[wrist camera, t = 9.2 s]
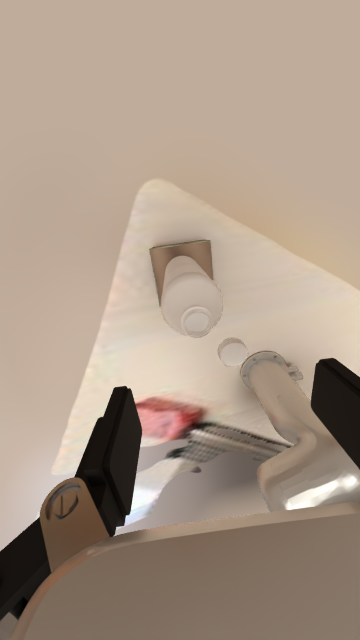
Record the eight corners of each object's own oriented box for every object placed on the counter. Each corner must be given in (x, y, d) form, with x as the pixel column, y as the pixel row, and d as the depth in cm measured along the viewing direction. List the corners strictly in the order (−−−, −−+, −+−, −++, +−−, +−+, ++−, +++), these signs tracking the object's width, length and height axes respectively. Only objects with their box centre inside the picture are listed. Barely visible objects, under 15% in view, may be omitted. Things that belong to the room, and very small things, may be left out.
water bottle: (158, 274, 40) (140, 330, 17) (180, 247, 38) (196, 267, 15) (192, 303, 42) (217, 386, 19) (214, 278, 41) (272, 337, 17)
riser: (203, 239, 45) (210, 240, 38) (208, 289, 50) (214, 299, 42) (152, 246, 45) (149, 249, 38) (161, 296, 50) (159, 307, 42)
